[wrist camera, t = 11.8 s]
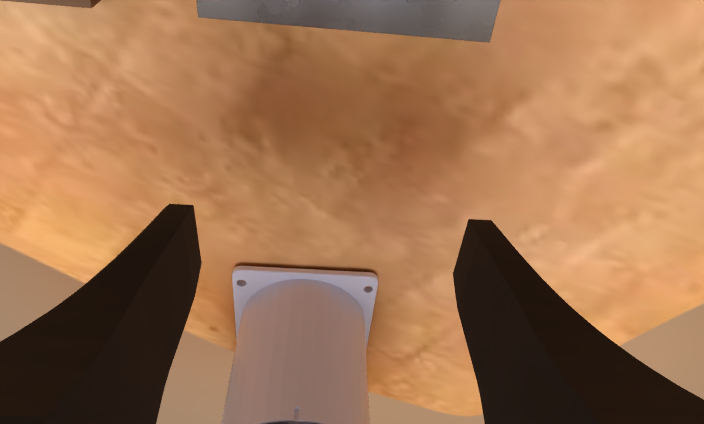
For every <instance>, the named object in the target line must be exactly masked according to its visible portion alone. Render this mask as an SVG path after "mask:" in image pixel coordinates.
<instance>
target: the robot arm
mask: <svg viewBox="0 0 704 424" xmlns="http://www.w3.org/2000/svg"><path fill="white" fill-rule="evenodd" d="M200 268H201V256H200V249H199V242H198V234H197V227H196V220H195V213H194V206H193V205H180V204H169V205H168V206H166V207H165V208H164V209H163V210H162V211H161V212H160V213H159V215H158V216H157V217H156V218H155V219H154V220H153V221H152V222H151V223H150V224H149V225H148V226H147V227H146V228H145V229H144V230H143V231H142V232H141V233H140V234H139V235H138V236H137V237H136V238H135V239H134V240H133V241H132V242H131V243H130V244H129V245H128V246H127V247H126V248H125V249H124V250H123V251H122V252H121V253H120V254H119V255H118V256H117V257H116V258H115V259H114V260H113V261H111V262H110V263H109V264H108V265H107V266H106V267H105V268H103V269H102V270H101V271H100V272H99V273H98V274H97V275H96V276H94V277H93V278H92V279H91V280H90V281H89V282H87V283H86V284H85V285H84V286H82V287H81V288H80V289H79V290H77V292H75V293H74V294H72V295H71V296H70V297H68V298H67V299H66V300H64V301H63V302H62V303H60V304H59V305H58V306H56V307H55V308H53V309H52V310H50V311H49V312H48V313H46V314H44V315H43V316H41V317H39V318H38V319H37V320H35V321H33V322H32V323H30V324H29V325H27V326H25V327H24V328H22V329H21V330H19V331H18V332H16V333H14V334H13V335H11V336H9V337H8V338H6V339H4V340H2V341H1V342H0V424H156V421H157V417H158V413H159V408H160V404H161V400H162V395H163V391H164V387H165V383H166V380H167V377H168V373H169V370H170V367H171V364H172V361H173V359H174V356H175V353H176V350H177V347H178V344H179V341H180V338H181V335H182V333H183V330H184V327H185V324H186V321H187V318H188V315H189V312H190V309H191V306H192V303H193V300H194V297H195V292H196V288H197V283H198V278H199V273H200ZM453 278H454V286H455V294H456V301H457V308H458V312H459V316H460V320H461V323H462V327H463V331H464V335H465V338H466V342H467V346H468V349H469V353H470V357H471V361H472V364H473V368H474V372H475V375H476V379H477V383H478V388H479V392H480V397H481V403H482V409H483V415H484V421H485V424H704V400H703V399H701V398H700V397H698V396H696V395H694V394H692V393H690V392H688V391H687V390H685V389H683V388H681V387H680V386H678V385H676V384H675V383H673V382H672V381H670V380H668V379H667V378H665V377H664V376H662V375H661V374H659V373H657V372H656V371H654V370H653V369H651V368H649V367H648V366H646V365H645V364H644V363H642V362H641V361H639V360H638V359H636V358H635V357H633V356H632V355H630V354H629V353H628V352H626V351H625V350H624V349H622V348H621V347H619V346H618V345H617V344H615V343H614V342H613V341H611V340H610V339H609V338H607V337H606V336H605V335H604V334H602V333H601V332H600V331H598V330H597V329H596V328H595V327H594V326H592V325H591V324H590V323H589V322H588V321H587V320H585V319H584V318H583V317H582V316H581V315H579V314H578V313H577V312H576V311H575V310H574V309H573V308H572V307H570V306H569V305H568V304H567V303H566V302H565V301H564V300H563V299H562V298H561V297H560V296H559V295H558V294H557V293H556V292H555V291H554V290H553V289H552V288H551V287H550V286H549V285H548V284H547V283H546V282H545V281H544V280H543V279H542V278H541V277H540V276H539V275H538V274H537V273H536V271H535V270H534V269H533V268H532V267H531V266H530V265H529V264H528V263H527V261H526V260H525V259H524V258H523V257H522V256H521V255H520V254H519V252H518V251H517V250H516V249H515V248H514V247H513V245H512V244H511V243H510V242H509V241H508V239H507V238H506V237H505V236H504V235H503V234H502V232H501V231H500V230H499V229H498V228H497V226H496V225H495V224H494V223H493V222H492V221H491V220H474V219H469V220H468V223H467V227H466V230H465V234H464V237H463V241H462V244H461V248H460V251H459V255H458V258H457V262H456V265H455V269H454V272H453ZM240 280H244V281H240ZM232 284H233V297H234V311H235V324H236V338H237V343H236V349H235V354H234V359H233V364H232V370H231V375H230V380H229V386H228V391H227V396H226V402H225V407H224V412H223V418H222V424H369V403H368V382H367V361H366V349H367V343H368V338H369V332H370V326H371V321H372V315H373V310H374V304H375V298H376V293H377V287H378V277H377V275H376V274H374V273H371V272H353V271H334V270H315V269H295V268H276V267H257V266H237V267H235V268H234V269H233V273H232ZM367 286H370V287H368V288H367Z"/></svg>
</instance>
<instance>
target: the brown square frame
mask: <svg viewBox="0 0 704 424" xmlns="http://www.w3.org/2000/svg"><path fill="white" fill-rule="evenodd" d="M2 1H14V2H25V3H37V4H49V5H60V6H72V7H83V8H92V7H94V6H95V5H96V4H97V3H98V2H99V1H101V0H2Z"/></svg>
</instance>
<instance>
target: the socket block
mask: <svg viewBox="0 0 704 424" xmlns="http://www.w3.org/2000/svg"><path fill="white" fill-rule="evenodd" d="M499 4H500V0H197V10H198V17H200V18H211V19H223V20H235V21H246V22H258V23H269V24H281V25H293V26H304V27H316V28H328V29H339V30H351V31H362V32H374V33H386V34H397V35H409V36H421V37H432V38H444V39H455V40H467V41H479V42H490V38H491V35H492V31H493V27H494V23H495V19H496V16H497V12H498V8H499Z"/></svg>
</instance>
